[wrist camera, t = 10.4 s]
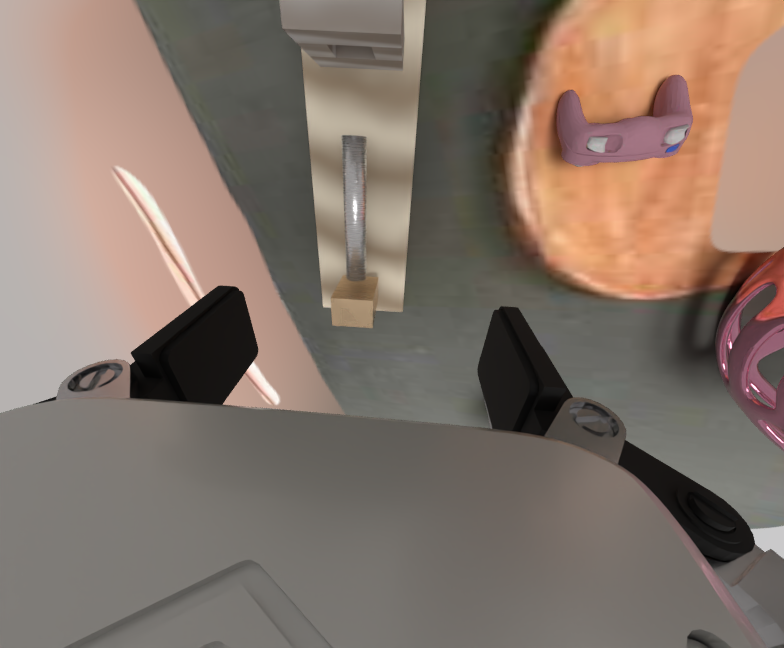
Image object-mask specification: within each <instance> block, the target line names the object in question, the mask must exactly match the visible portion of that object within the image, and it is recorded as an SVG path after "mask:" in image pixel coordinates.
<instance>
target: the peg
mask: <svg viewBox="0 0 784 648" xmlns="http://www.w3.org/2000/svg"><path fill="white" fill-rule="evenodd" d="M341 139H342V167H343V195H344V222H345V250H346V275H343V276H342V278H341V280H340V282H339V283H338V285H337V287H336V289H335V291H334V293H333V295H332V296H331V311H332V325H334V326H349V327H365V328H373V323H374V318H375V313H376V308H377V303H378V278H379V277H367V276H366V216H367V137H365V136H354V135H341Z"/></svg>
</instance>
